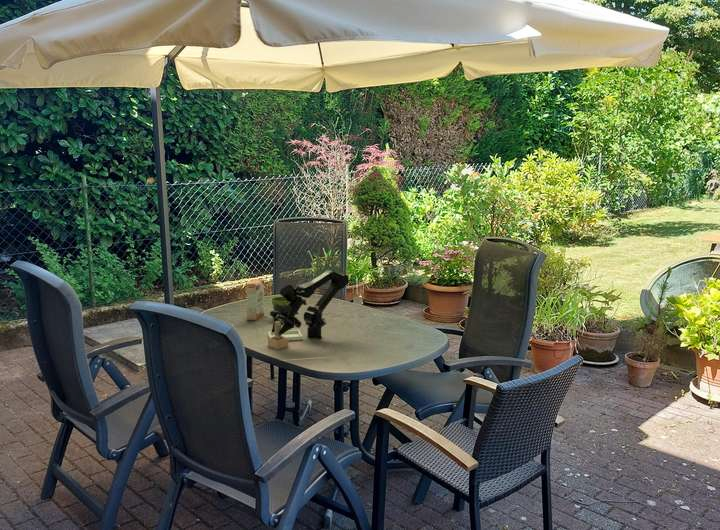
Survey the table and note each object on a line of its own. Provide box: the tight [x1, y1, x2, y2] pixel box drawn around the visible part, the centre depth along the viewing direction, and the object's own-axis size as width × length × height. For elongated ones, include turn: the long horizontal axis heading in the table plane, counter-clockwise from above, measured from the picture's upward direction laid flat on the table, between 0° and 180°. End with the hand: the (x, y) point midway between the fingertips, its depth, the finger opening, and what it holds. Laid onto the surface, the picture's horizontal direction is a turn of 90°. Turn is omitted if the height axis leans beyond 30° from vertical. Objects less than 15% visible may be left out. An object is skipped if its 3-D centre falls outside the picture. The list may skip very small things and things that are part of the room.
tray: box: [267, 329, 304, 342], centre depth 310 cm, size 16×12×2 cm
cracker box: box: [246, 278, 265, 321], centre depth 348 cm, size 14×6×21 cm, turn 171°
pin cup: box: [267, 336, 289, 350], centre depth 297 cm, size 7×7×4 cm
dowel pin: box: [275, 321, 282, 340], centre depth 296 cm, size 3×3×12 cm
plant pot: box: [270, 296, 290, 314], centre depth 348 cm, size 12×12×11 cm
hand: (275, 333), depth 295 cm, fingers open, 5 cm apart
